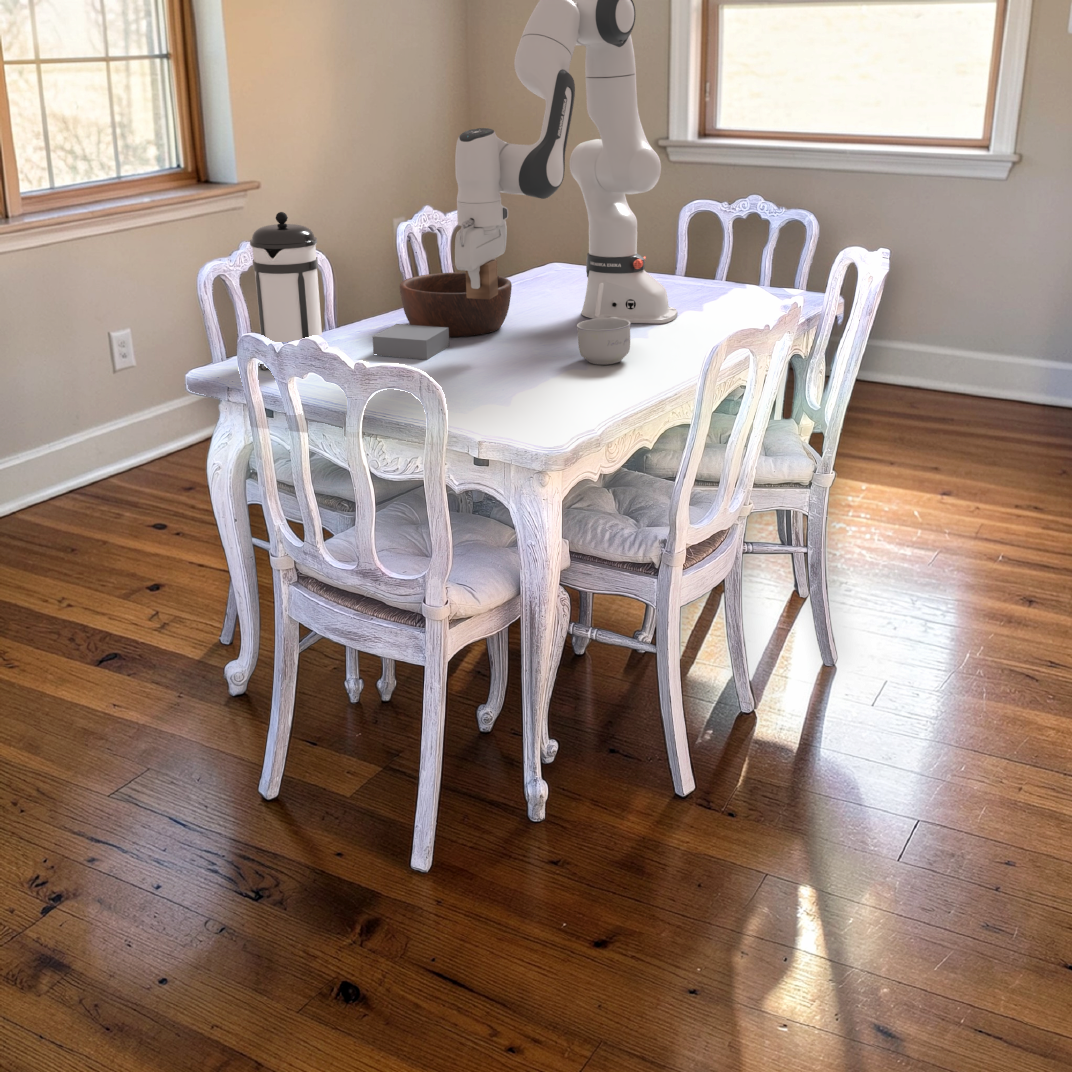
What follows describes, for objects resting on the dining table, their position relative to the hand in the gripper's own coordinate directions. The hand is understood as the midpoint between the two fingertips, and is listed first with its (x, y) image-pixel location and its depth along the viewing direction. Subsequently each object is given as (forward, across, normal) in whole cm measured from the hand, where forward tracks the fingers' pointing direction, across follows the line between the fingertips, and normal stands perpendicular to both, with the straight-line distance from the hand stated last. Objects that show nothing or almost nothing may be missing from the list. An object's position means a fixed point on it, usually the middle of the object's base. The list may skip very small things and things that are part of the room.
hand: (482, 284), depth 247 cm
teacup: (+15, +2, -26) cm, 30 cm away
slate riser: (+14, -2, +15) cm, 21 cm away
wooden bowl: (+15, +20, +14) cm, 29 cm away
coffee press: (+14, -18, +34) cm, 41 cm away
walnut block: (+2, 0, 0) cm, 2 cm away
